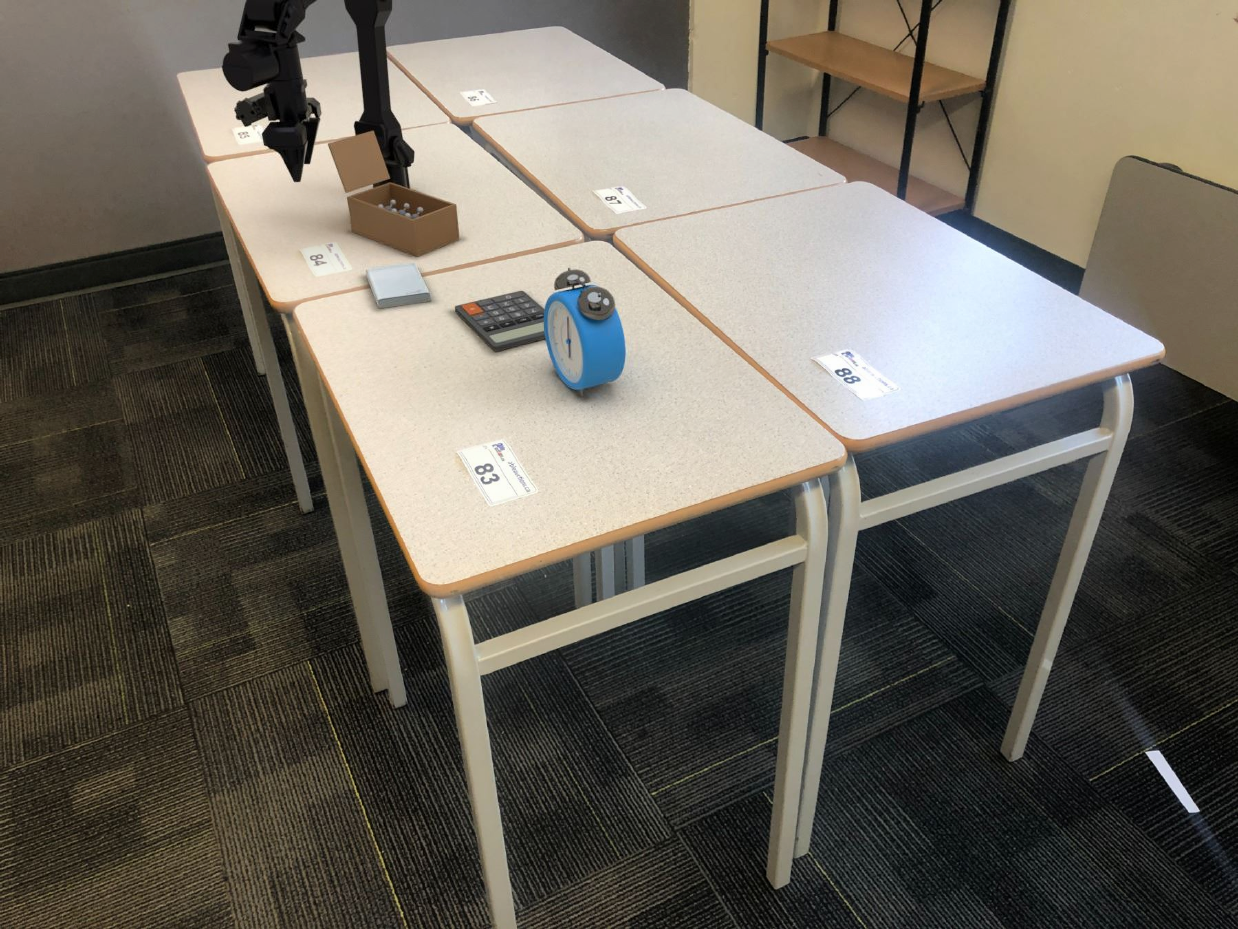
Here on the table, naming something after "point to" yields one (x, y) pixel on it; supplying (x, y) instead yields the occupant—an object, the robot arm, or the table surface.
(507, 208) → the table surface
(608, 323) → the alarm clock
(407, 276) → the hard drive
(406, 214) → the molecular model
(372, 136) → the carton flap
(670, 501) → the table surface
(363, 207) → the carton
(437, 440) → the table surface
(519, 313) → the calculator
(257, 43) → the robot arm
